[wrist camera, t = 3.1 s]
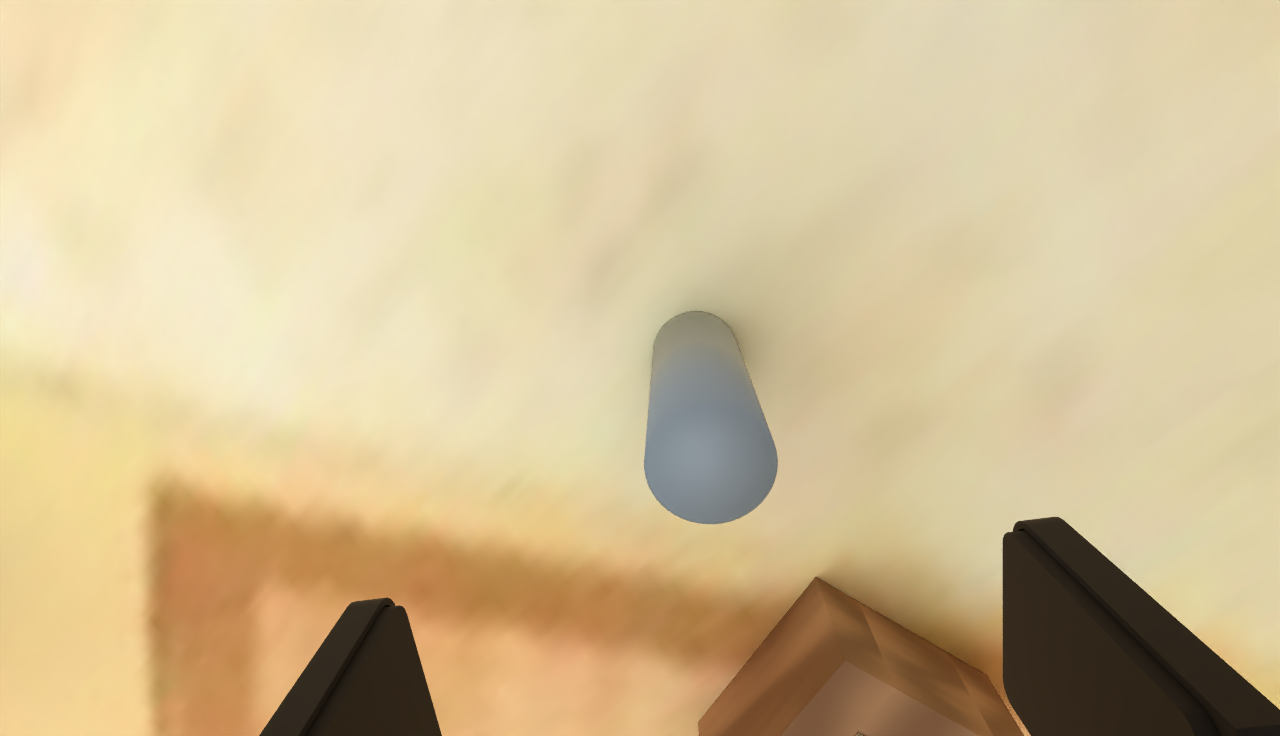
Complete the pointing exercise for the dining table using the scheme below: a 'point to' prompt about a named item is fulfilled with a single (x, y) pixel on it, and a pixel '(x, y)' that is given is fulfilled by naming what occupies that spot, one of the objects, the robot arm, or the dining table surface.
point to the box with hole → (853, 680)
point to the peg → (705, 424)
